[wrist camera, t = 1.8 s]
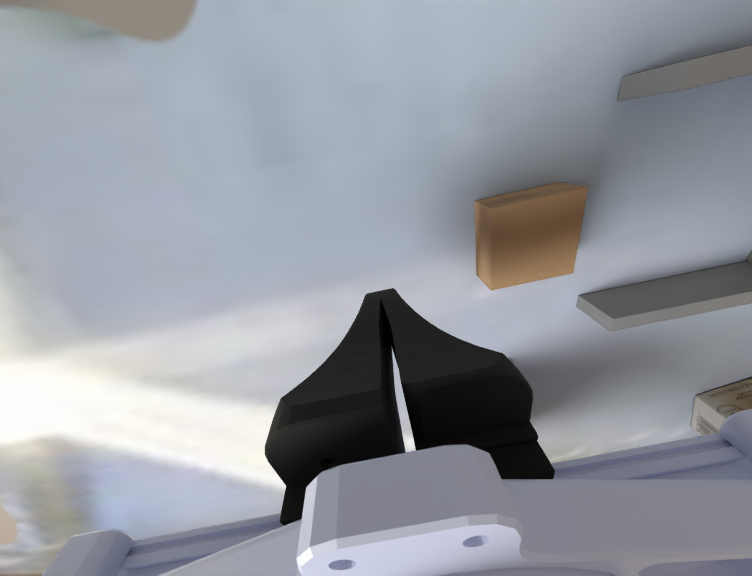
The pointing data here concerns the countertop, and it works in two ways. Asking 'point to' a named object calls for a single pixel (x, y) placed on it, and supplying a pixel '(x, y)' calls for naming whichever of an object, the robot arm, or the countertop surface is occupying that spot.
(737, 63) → the grey u-shaped bracket
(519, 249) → the walnut tile
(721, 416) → the coffee box
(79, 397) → the countertop surface
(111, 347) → the countertop surface
